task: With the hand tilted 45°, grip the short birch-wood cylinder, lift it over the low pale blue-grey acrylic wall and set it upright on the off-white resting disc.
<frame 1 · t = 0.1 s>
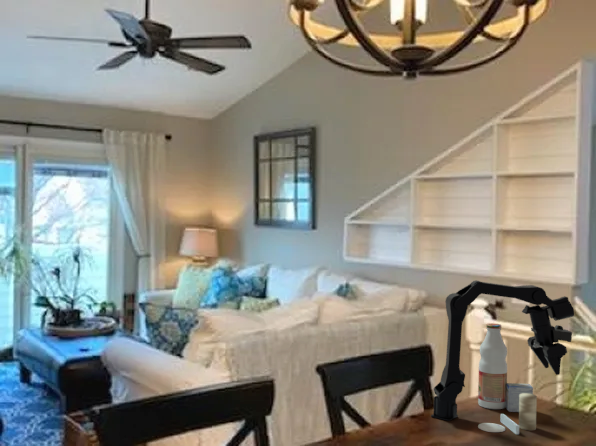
hand: (552, 371, 215), 15 cm above the table, tool pointing down, fingers open, 9 cm apart
birch cylinder: (527, 427, 206), on the table
medicine box: (519, 411, 224), on the table
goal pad: (491, 428, 205), on the table
fruit juice: (492, 406, 229), on the table
acrylic wall: (509, 427, 205), on the table
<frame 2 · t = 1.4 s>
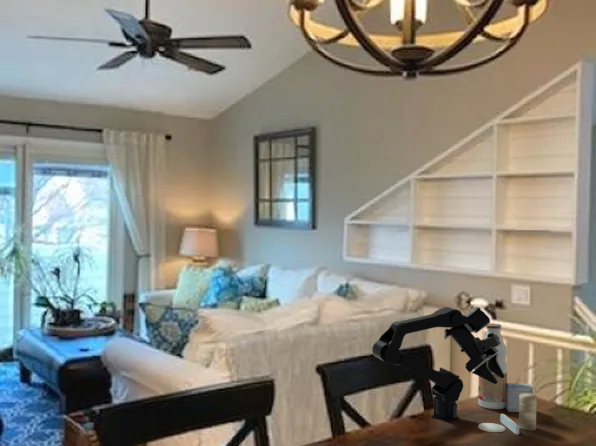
hand: (500, 380, 210), 13 cm above the table, tool tilted 45°, fingers open, 9 cm apart
nothing on the table moved.
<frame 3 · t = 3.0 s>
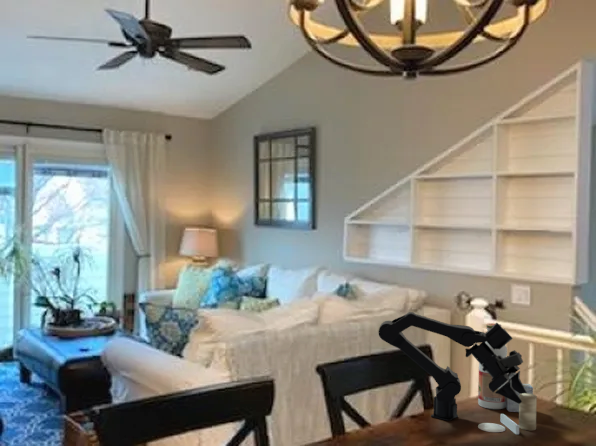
hand: (523, 399, 206), 9 cm above the table, tool tilted 45°, fingers open, 9 cm apart
nothing on the table moved.
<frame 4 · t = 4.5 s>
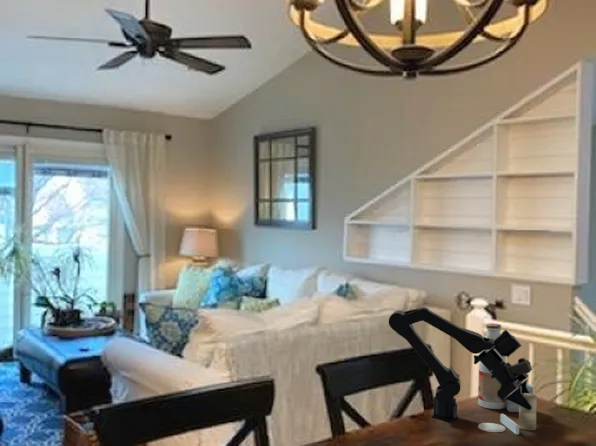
hand: (532, 407, 205), 7 cm above the table, tool tilted 45°, fingers closed on birch cylinder, 5 cm apart
birch cylinder: (527, 427, 206), on the table, touching gripper
everything else where it was.
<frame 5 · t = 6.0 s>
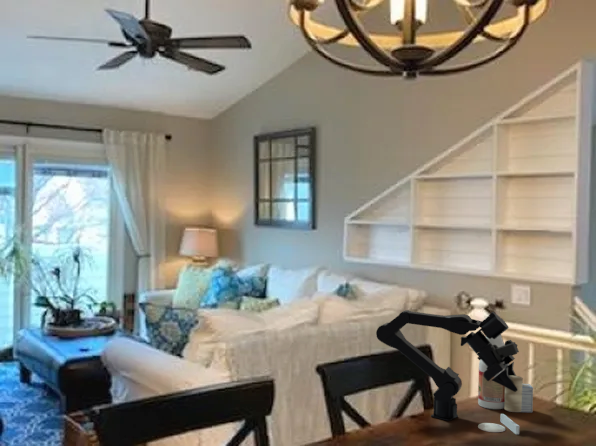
hand: (518, 389, 205), 12 cm above the table, tool tilted 45°, fingers closed on birch cylinder, 5 cm apart
birch cylinder: (512, 409, 205), point 6 cm above the table, touching gripper
everything else where it was.
when the fingers open (8 cm above the table, at t = 7.9 s): birch cylinder drops 1 cm, resting on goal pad.
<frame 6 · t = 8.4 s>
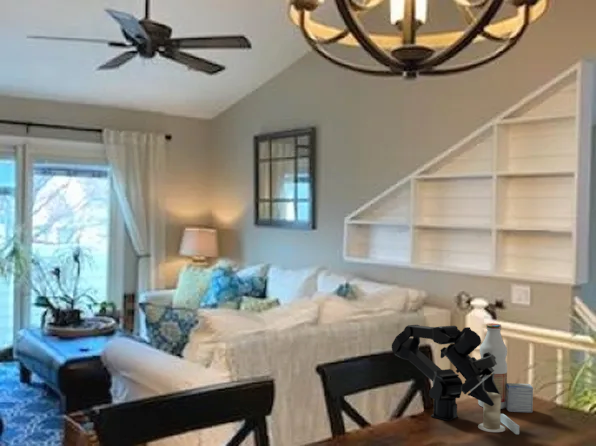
hand: (496, 401, 204), 8 cm above the table, tool tilted 45°, fingers open, 9 cm apart
birch cylinder: (491, 426, 205), resting on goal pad
everything else where it was.
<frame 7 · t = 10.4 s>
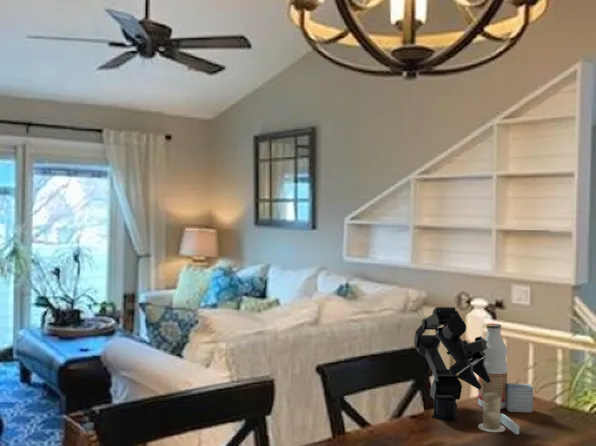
hand: (485, 385, 206), 13 cm above the table, tool tilted 40°, fingers open, 9 cm apart
nothing on the table moved.
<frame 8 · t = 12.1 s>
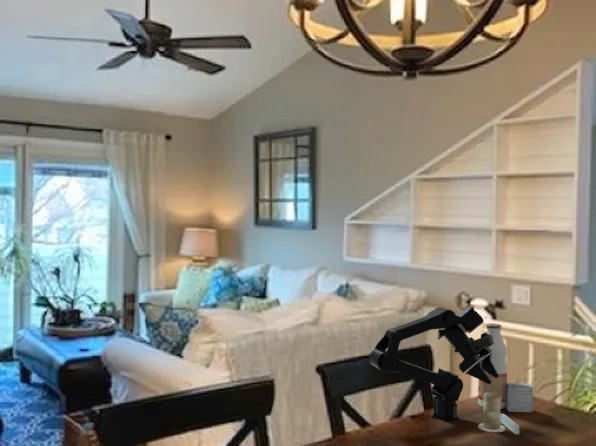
hand: (494, 380, 209), 14 cm above the table, tool tilted 45°, fingers open, 9 cm apart
nothing on the table moved.
at the end: birch cylinder 0.1 cm off-centre on the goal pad, point 0.3 cm above the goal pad's base; birch cylinder tilted 0°; the gripper is holding nothing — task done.
